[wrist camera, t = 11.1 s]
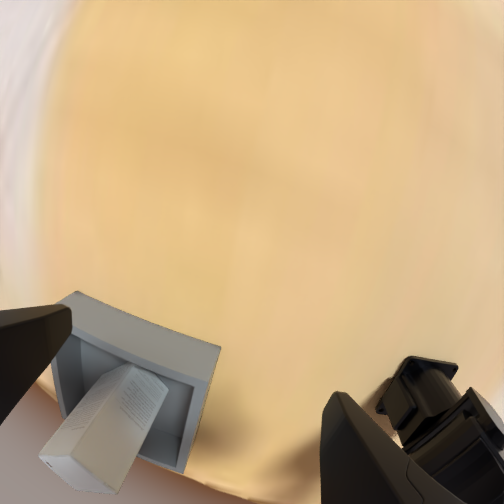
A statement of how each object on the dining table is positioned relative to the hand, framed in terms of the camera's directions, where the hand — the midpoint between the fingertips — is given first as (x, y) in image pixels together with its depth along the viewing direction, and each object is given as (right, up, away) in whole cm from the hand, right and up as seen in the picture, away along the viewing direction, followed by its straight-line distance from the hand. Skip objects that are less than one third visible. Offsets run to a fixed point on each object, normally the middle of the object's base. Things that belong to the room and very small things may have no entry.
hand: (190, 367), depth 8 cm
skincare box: (-9, -8, +15) cm, 19 cm away
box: (-9, -8, +15) cm, 19 cm away
